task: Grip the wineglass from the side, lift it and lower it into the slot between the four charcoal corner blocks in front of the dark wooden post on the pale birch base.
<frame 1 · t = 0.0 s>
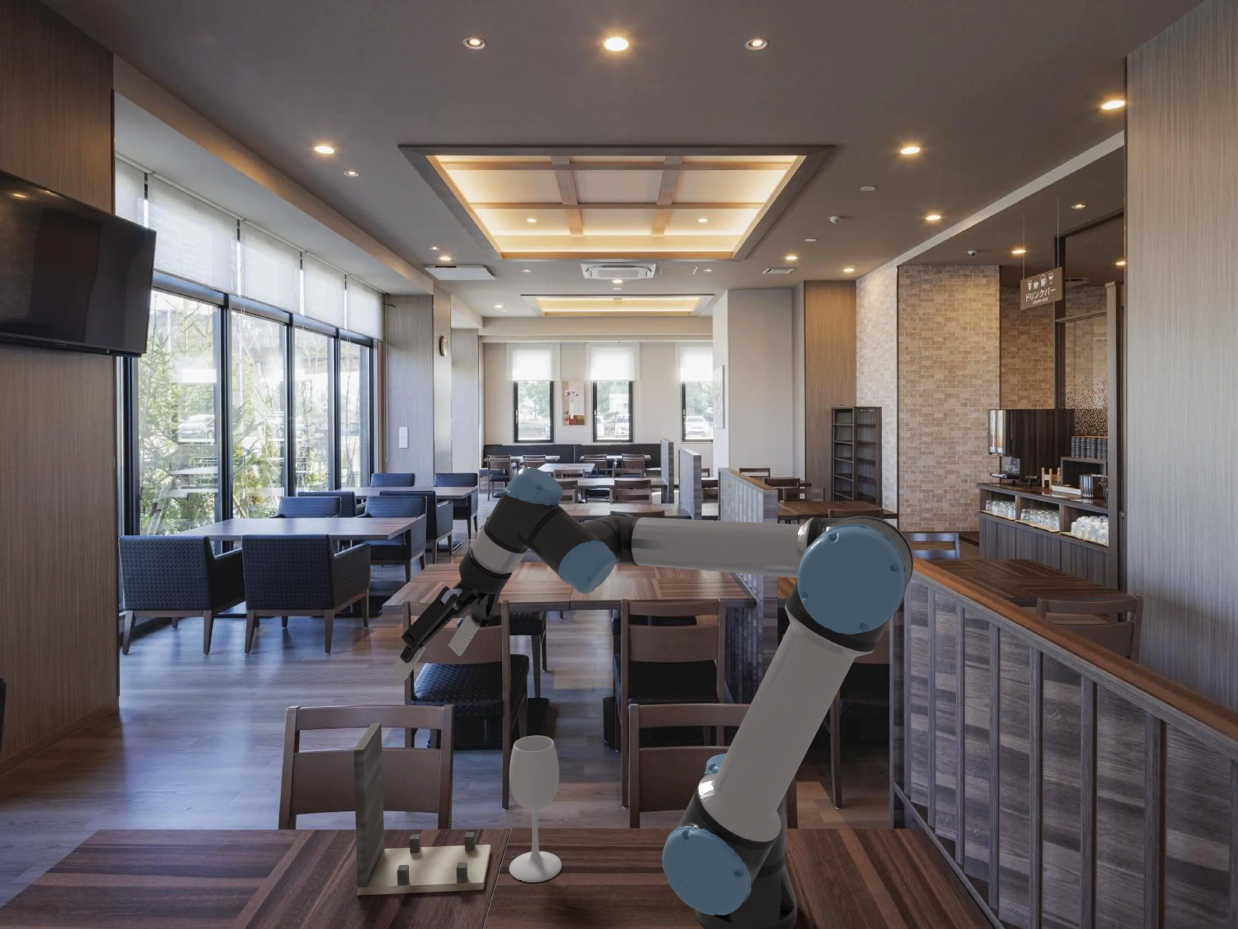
hand: (428, 661, 121), 36 cm above the table, tool tilted 35°, fingers open, 13 cm apart
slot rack: (438, 871, 126), on the table
wineglass: (535, 868, 127), on the table
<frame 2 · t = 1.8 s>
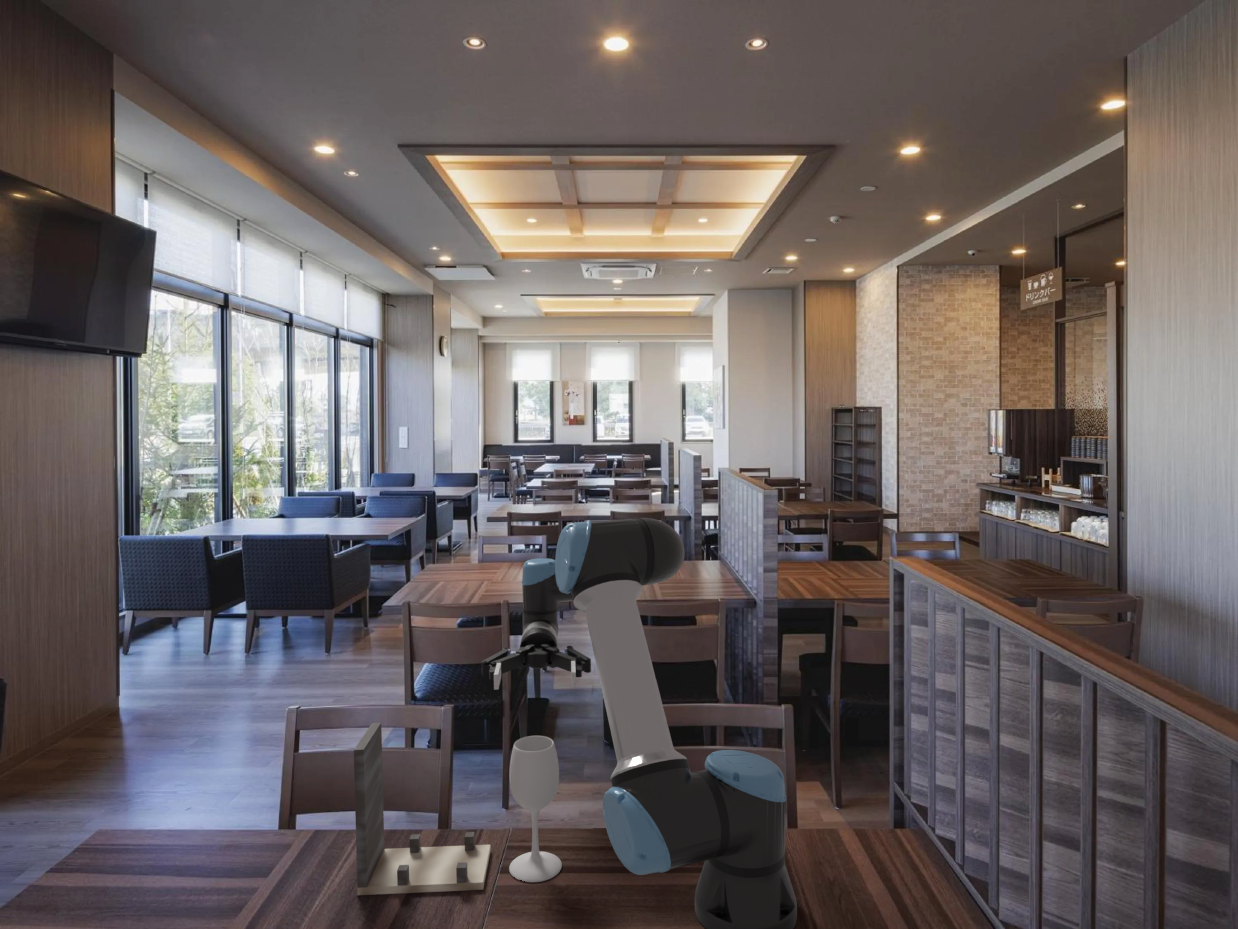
hand: (534, 681, 134), 28 cm above the table, tool horizontal, fingers open, 13 cm apart
nothing on the table moved.
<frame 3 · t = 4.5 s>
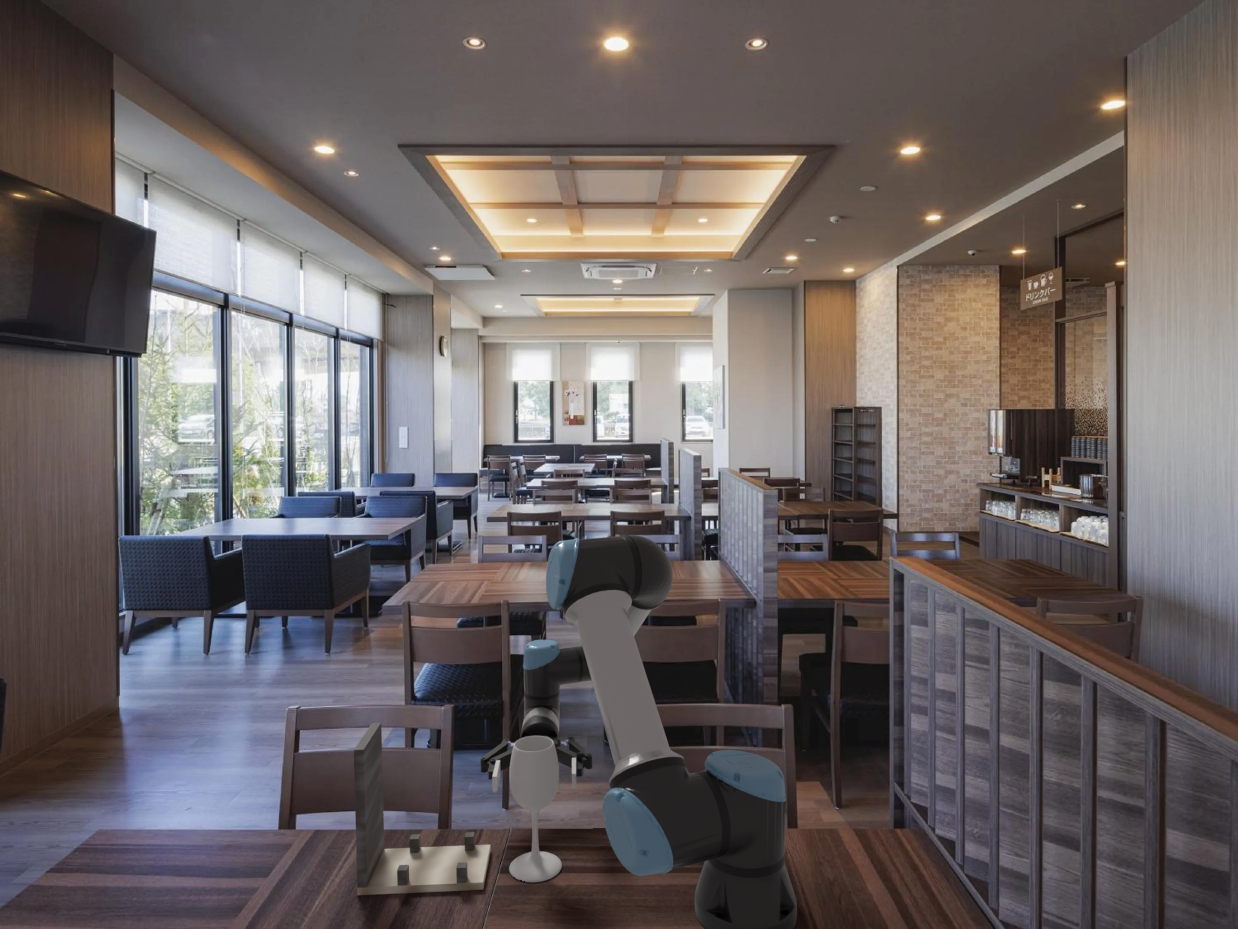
hand: (534, 783, 131), 12 cm above the table, tool horizontal, fingers open, 13 cm apart
nothing on the table moved.
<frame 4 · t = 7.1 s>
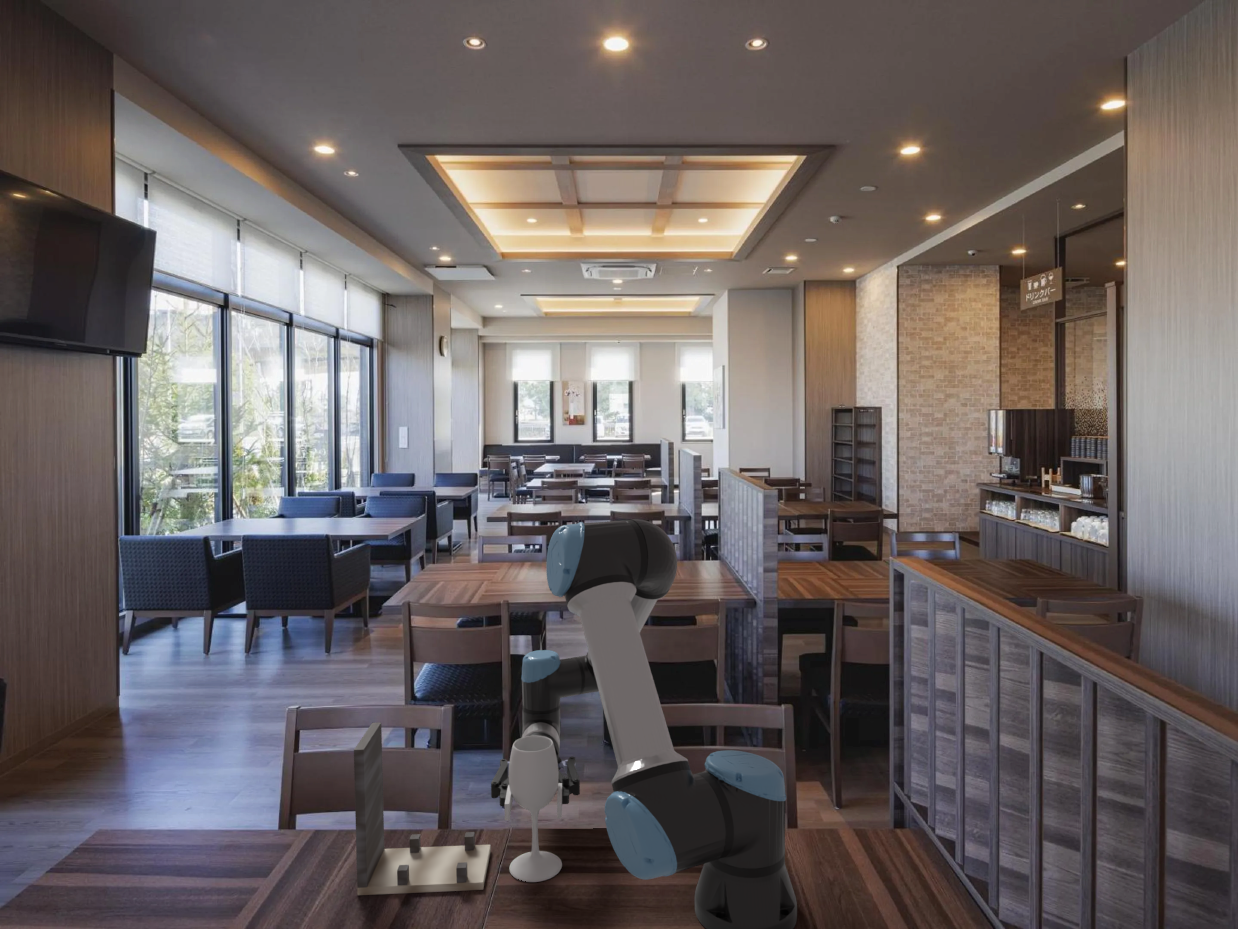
hand: (533, 811, 121), 12 cm above the table, tool horizontal, fingers closed on wineglass, 8 cm apart
wineglass: (535, 868, 127), on the table, touching gripper
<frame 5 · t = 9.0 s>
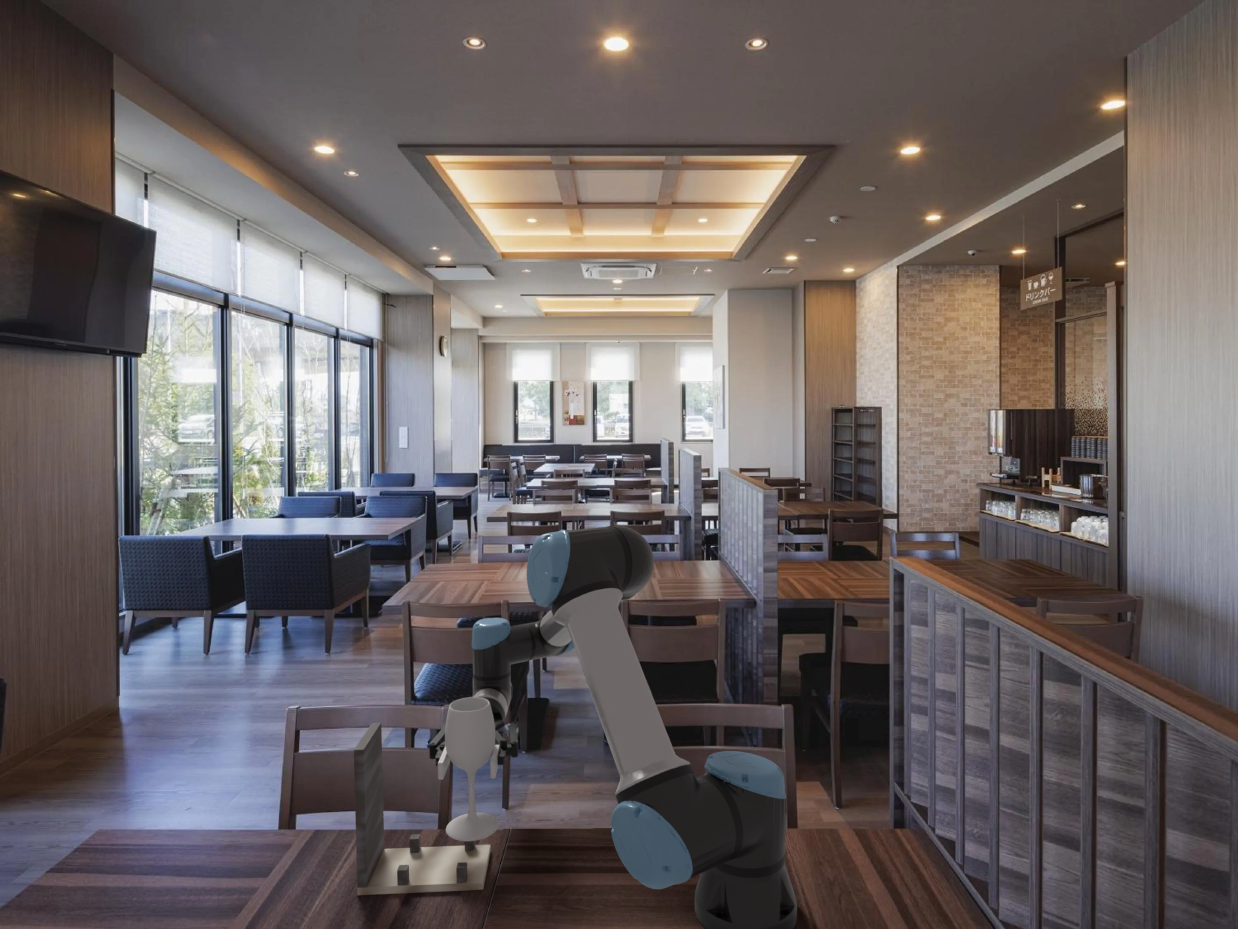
hand: (466, 770, 122), 18 cm above the table, tool horizontal, fingers closed on wineglass, 8 cm apart
wineglass: (472, 829, 127), point 6 cm above the table, touching gripper
when the fingers open (14 cm above the table, at t = 10.8 s): wineglass moves 2 cm, resting on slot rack.
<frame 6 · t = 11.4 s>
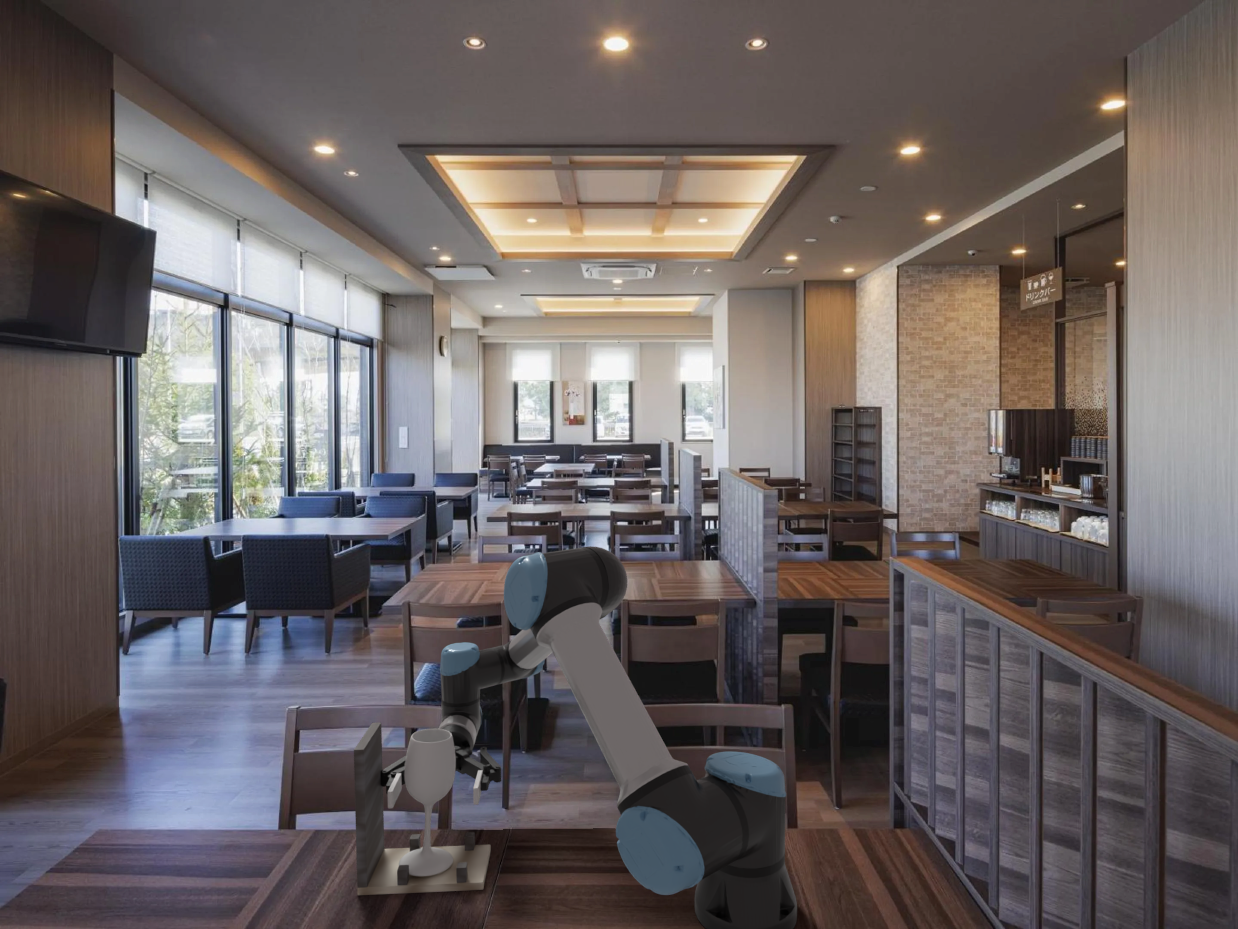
hand: (433, 798, 122), 14 cm above the table, tool horizontal, fingers open, 13 cm apart
wineglass: (426, 864, 125), point 1 cm above the table, touching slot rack
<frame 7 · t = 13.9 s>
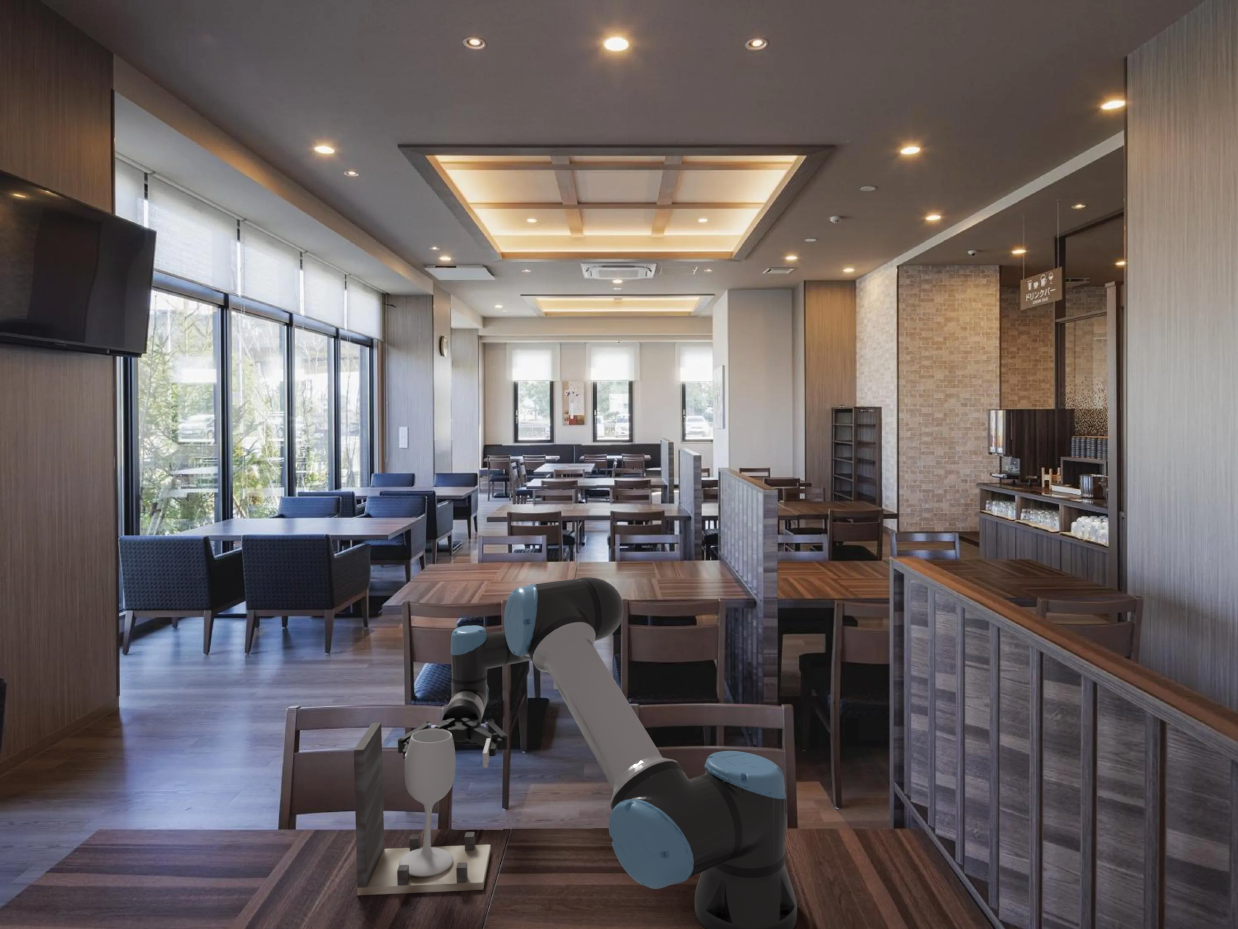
hand: (446, 762, 135), 14 cm above the table, tool horizontal, fingers open, 13 cm apart
nothing on the table moved.
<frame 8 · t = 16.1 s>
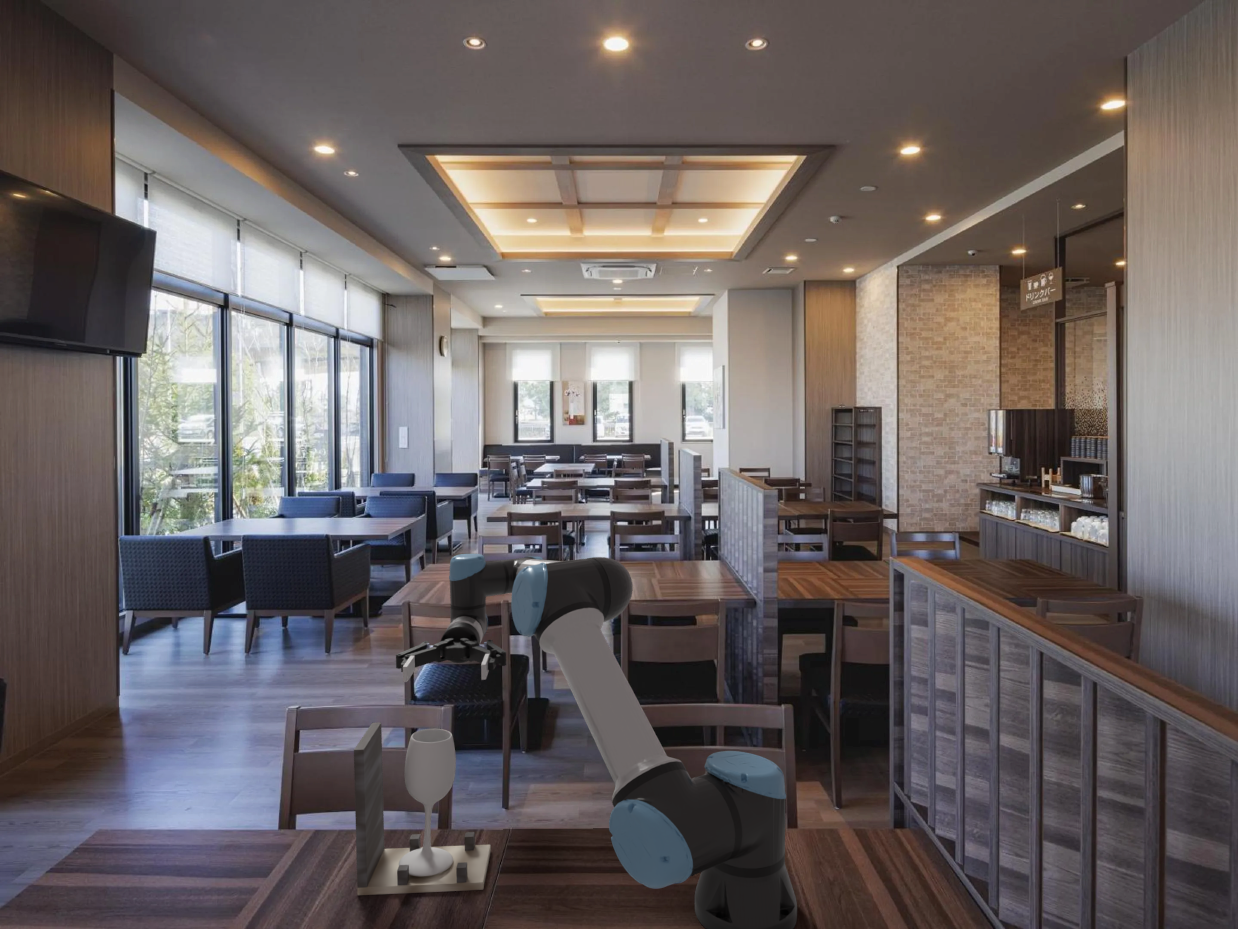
hand: (444, 673, 134), 30 cm above the table, tool horizontal, fingers open, 13 cm apart
nothing on the table moved.
at the end: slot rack 0.0 cm off-centre on the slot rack, point 0.0 cm above the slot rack's base; wineglass 1.9 cm off-centre on the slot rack, point 1.4 cm above the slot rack's base; wineglass tilted 4° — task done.
